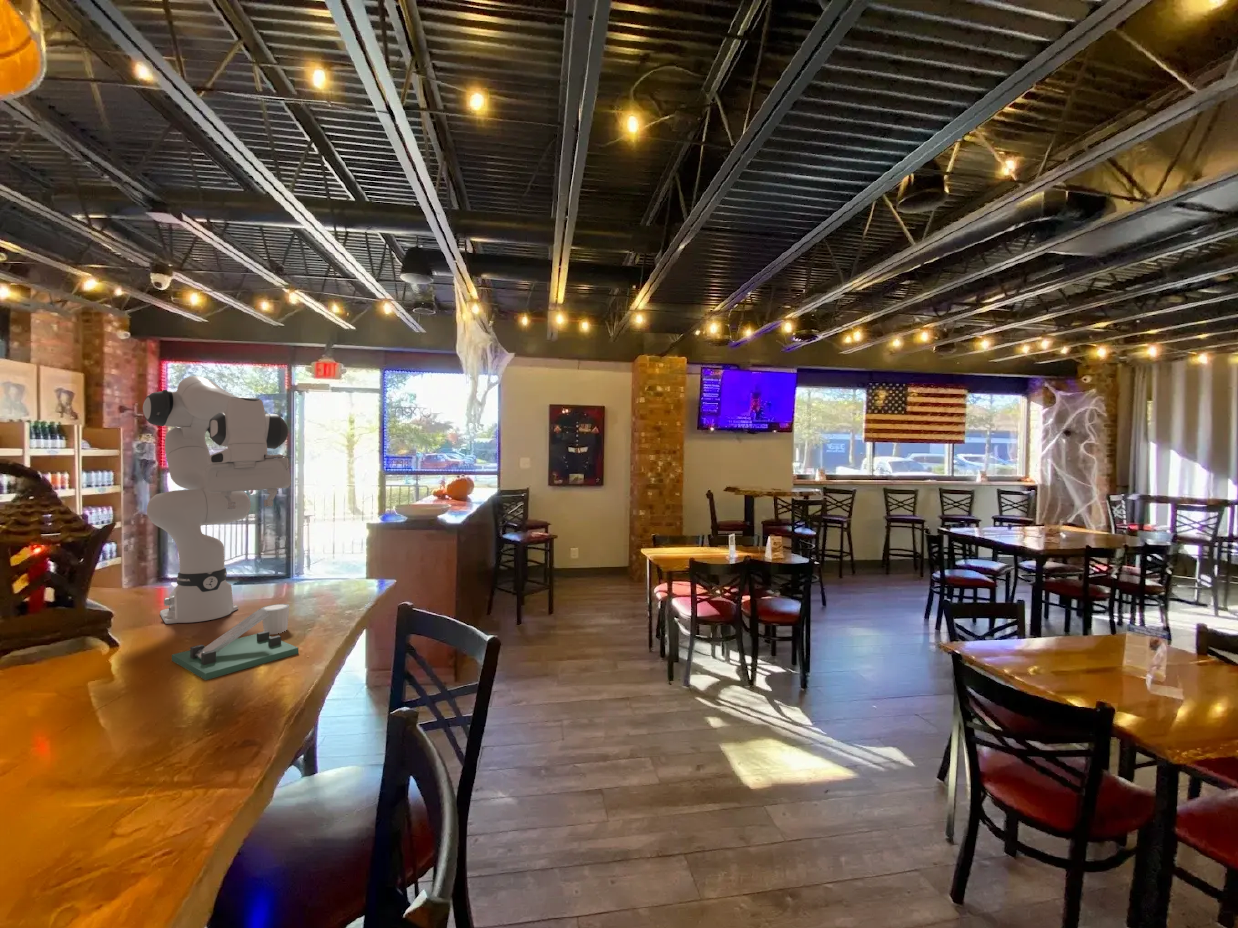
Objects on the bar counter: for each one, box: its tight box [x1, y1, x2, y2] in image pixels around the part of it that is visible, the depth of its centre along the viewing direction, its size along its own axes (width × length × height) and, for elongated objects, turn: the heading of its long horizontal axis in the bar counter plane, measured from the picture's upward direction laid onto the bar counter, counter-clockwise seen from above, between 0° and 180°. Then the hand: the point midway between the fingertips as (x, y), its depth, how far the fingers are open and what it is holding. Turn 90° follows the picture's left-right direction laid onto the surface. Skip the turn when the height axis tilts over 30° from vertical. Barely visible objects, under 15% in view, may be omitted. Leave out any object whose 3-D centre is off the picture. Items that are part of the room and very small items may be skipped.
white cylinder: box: [260, 603, 290, 636], centre depth 159 cm, size 7×7×7 cm
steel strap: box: [195, 607, 270, 659], centre depth 139 cm, size 4×16×2 cm, turn 146°
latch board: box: [171, 630, 299, 681], centre depth 139 cm, size 20×20×4 cm
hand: (249, 507), depth 150 cm, fingers open, 8 cm apart
